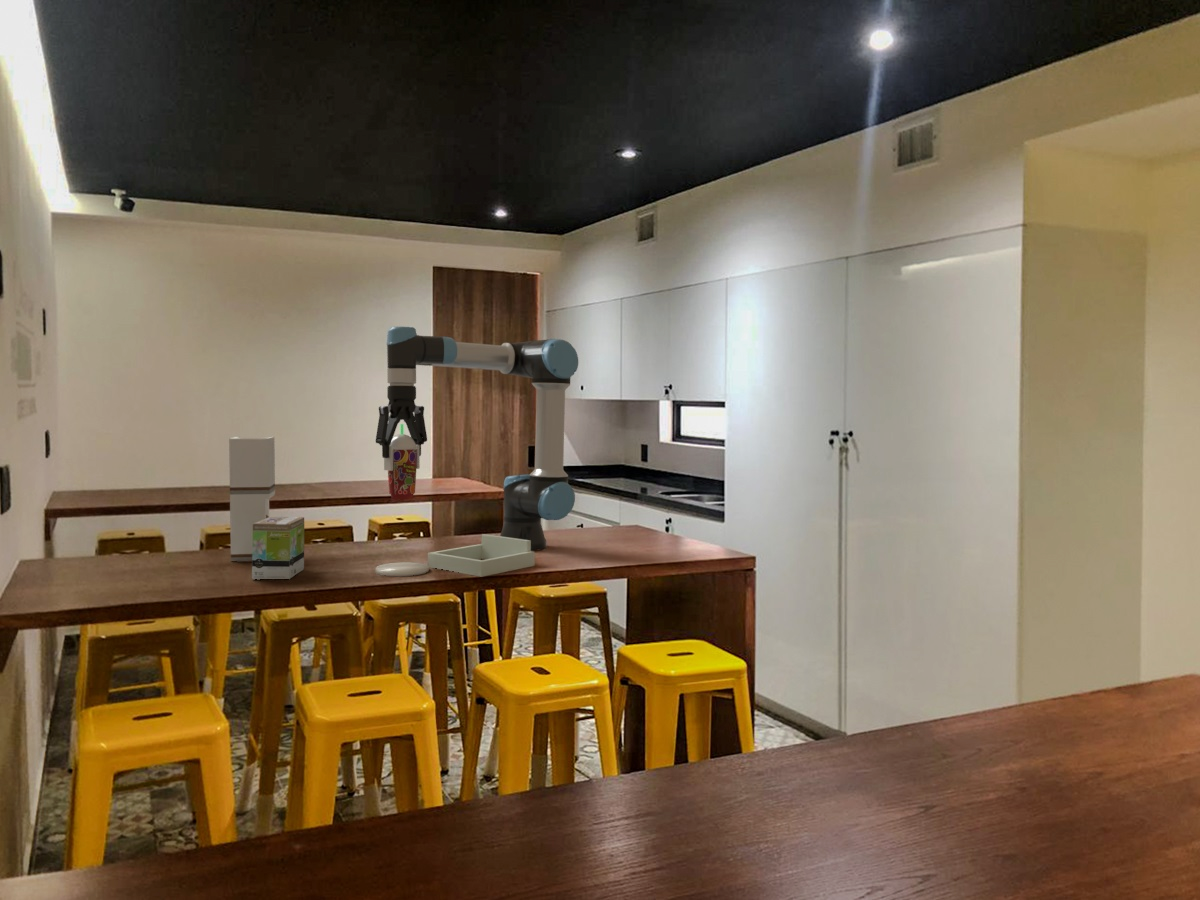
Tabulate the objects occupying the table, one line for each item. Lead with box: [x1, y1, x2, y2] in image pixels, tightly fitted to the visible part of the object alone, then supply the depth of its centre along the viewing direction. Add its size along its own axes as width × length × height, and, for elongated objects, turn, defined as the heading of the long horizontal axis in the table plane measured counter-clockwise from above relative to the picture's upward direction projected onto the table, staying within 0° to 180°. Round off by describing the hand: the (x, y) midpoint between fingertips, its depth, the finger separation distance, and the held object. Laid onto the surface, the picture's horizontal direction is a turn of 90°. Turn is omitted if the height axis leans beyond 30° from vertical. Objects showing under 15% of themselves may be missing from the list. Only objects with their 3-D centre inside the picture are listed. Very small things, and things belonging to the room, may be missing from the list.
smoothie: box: [387, 423, 418, 500], centre depth 249 cm, size 8×8×20 cm
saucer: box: [375, 561, 430, 577], centre depth 251 cm, size 14×14×1 cm
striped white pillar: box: [228, 436, 276, 562], centre depth 269 cm, size 11×11×35 cm
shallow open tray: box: [427, 533, 536, 578], centre depth 259 cm, size 21×21×7 cm
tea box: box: [251, 516, 305, 581], centre depth 244 cm, size 15×10×15 cm
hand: (402, 469), depth 249 cm, fingers closed on smoothie, 8 cm apart
